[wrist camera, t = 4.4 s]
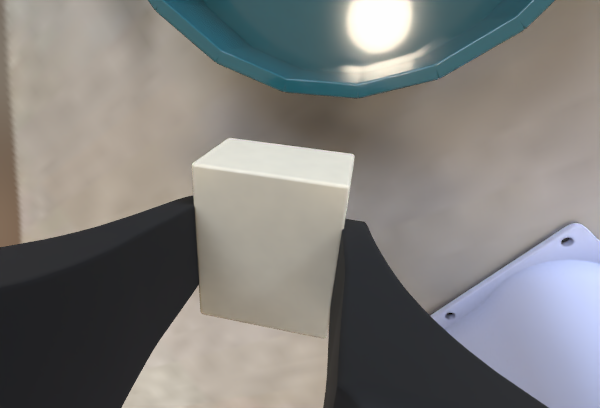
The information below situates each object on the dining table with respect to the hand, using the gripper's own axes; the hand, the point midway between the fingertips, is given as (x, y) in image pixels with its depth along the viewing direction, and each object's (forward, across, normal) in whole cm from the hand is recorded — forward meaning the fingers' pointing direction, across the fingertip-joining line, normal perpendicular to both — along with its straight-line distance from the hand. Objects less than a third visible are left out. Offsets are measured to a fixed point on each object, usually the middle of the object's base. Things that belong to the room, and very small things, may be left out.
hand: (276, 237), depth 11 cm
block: (+1, 0, 0) cm, 1 cm away
